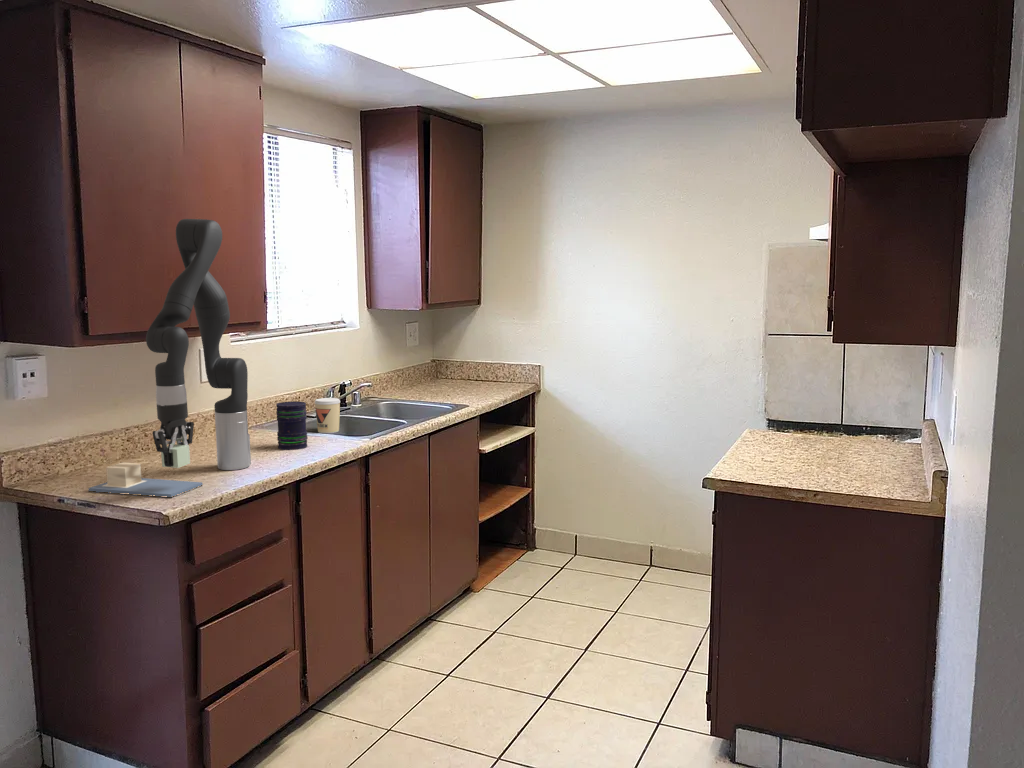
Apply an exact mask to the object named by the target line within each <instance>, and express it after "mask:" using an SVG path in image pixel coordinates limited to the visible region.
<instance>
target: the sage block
mask: <svg viewBox="0 0 1024 768" xmlns="http://www.w3.org/2000/svg"><path fill="white" fill-rule="evenodd" d="M168 446H169V445H167V448H168ZM172 453H173V466H171V467H170V468H173V469H174V468H175V469H179V468H181V467H184V466H187V465H190V464H191V454H190V453H191V451H190V444H189V445H177V443H175V444H174V445H173V449H172ZM160 456H161V467H162V468H168V467H167V466H165V464H164V454H163V452H160Z"/></svg>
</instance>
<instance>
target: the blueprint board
mask: <svg viewBox="0 0 1024 768" xmlns="http://www.w3.org/2000/svg"><path fill="white" fill-rule="evenodd" d="M141 480H142V481H141V482H138V483H135V484H132V485H129V486H126V487H124V486H111V485H108V484H107V482H104V483H99V484H97V485H94V486H91V487H88V492H89V491H96V492H95V493H99V492H108V493H107V494H111V493H129V494H141V495H152V496H153V495H155V496H167V497H172V496H175V495H177V494H180V493H182V492H185V491H188V490H191V489H193V488H196V487H198V486H201V485H203V482H202V481H201V482H200V481H191V480H190V481H185V480H174V479H163V478H162V479H160V478H159V479H158V478H148V477H147V478H146V477H141ZM201 487H202V486H201ZM196 489H197V488H196ZM191 491H192V490H191ZM109 492H111V493H109ZM188 492H189V491H188Z"/></svg>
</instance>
